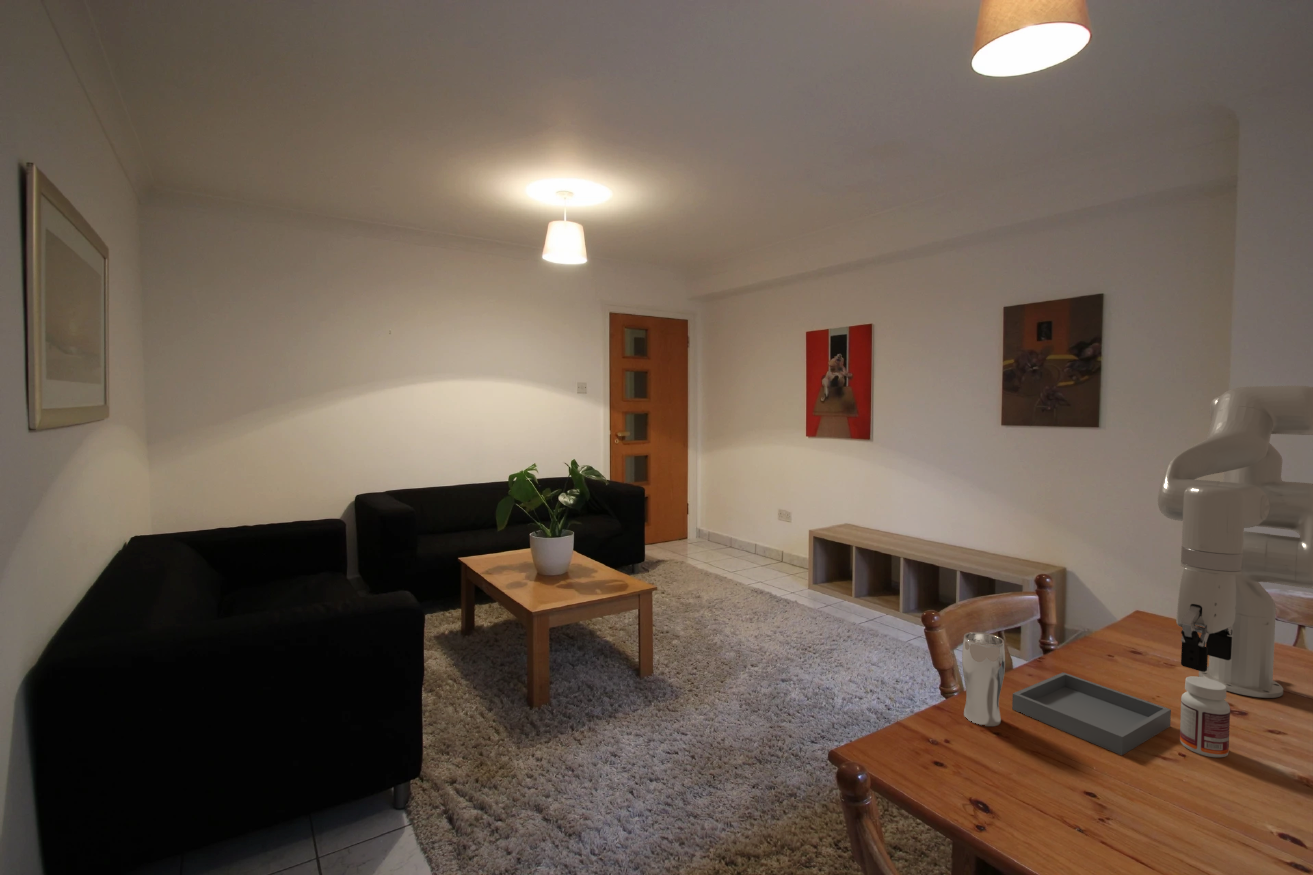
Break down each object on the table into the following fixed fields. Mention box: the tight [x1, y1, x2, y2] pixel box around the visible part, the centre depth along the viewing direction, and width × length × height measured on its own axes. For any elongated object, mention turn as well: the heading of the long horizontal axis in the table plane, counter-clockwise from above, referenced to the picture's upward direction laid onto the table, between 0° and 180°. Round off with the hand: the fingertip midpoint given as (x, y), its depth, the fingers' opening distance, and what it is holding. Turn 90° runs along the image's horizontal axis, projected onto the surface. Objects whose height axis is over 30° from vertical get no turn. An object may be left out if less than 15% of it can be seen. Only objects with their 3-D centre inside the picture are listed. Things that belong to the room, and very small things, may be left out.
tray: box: [1011, 671, 1172, 756], centre depth 114 cm, size 18×18×3 cm
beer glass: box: [961, 631, 1006, 727], centre depth 114 cm, size 7×7×15 cm
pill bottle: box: [1179, 675, 1231, 758], centre depth 103 cm, size 6×6×11 cm
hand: (1206, 662), depth 103 cm, fingers open, 9 cm apart
